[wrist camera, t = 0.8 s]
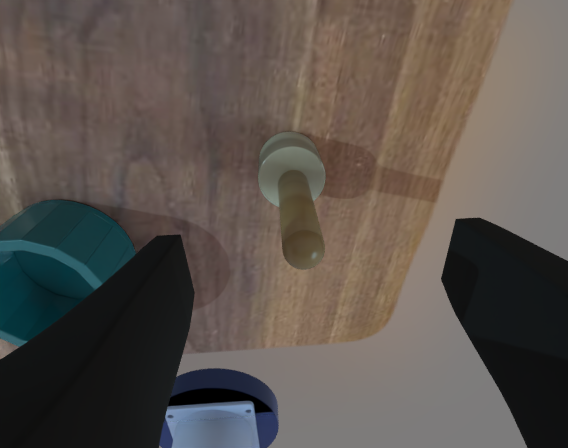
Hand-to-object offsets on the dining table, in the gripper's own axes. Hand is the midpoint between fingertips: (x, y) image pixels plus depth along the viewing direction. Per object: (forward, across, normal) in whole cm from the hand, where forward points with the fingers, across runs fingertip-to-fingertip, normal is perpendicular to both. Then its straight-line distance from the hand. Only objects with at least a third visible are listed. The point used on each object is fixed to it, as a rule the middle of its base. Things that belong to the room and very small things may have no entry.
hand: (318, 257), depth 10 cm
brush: (+10, 0, +2) cm, 11 cm away
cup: (+10, +13, +6) cm, 18 cm away
